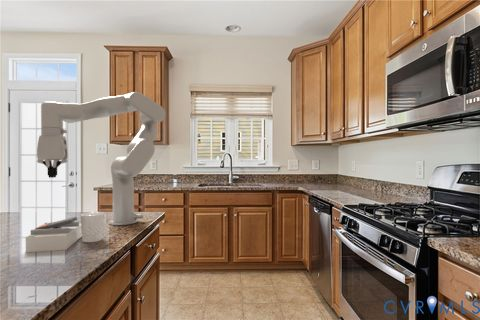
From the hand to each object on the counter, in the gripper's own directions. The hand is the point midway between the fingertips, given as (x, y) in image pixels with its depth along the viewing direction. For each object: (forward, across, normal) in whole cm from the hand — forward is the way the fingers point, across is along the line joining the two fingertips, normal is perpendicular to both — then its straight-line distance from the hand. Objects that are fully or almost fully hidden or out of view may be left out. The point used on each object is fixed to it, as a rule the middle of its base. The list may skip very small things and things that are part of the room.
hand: (52, 177), depth 121 cm
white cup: (+23, -18, +14) cm, 33 cm away
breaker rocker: (+16, -7, +16) cm, 24 cm away
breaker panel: (+23, -7, +16) cm, 29 cm away
